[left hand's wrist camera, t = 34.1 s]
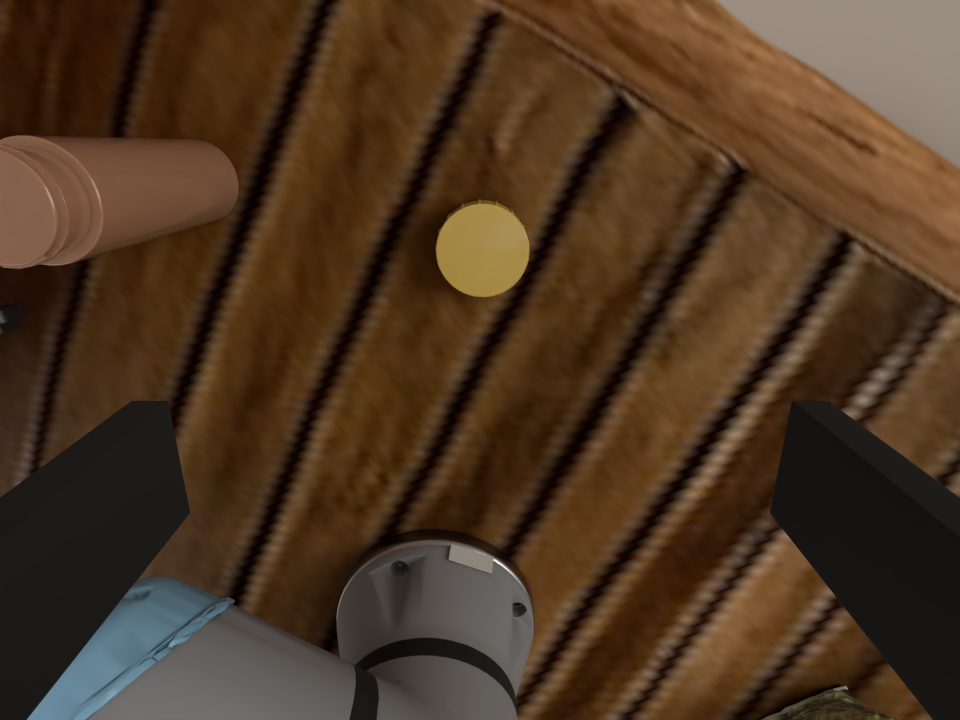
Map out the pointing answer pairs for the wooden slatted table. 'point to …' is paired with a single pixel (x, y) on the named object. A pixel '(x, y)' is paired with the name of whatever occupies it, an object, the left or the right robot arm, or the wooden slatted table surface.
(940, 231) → the wooden slatted table surface
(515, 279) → the lid
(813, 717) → the fossil
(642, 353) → the wooden slatted table surface
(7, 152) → the jar
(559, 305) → the wooden slatted table surface
